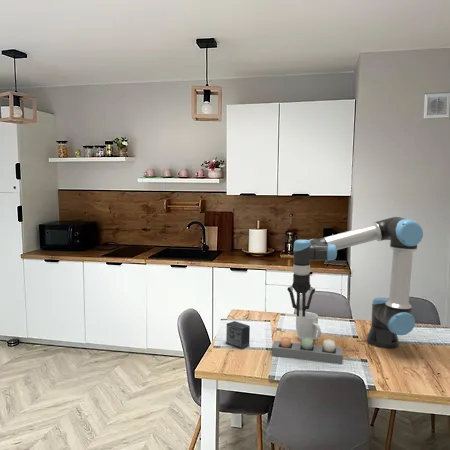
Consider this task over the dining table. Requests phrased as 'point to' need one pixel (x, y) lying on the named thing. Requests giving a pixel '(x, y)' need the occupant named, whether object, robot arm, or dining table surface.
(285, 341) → the key terracotta
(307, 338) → the key sage
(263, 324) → the dining table surface
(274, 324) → the dining table surface
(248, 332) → the small box
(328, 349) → the key ivory
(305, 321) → the mug
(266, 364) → the dining table surface
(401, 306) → the robot arm
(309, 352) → the grey long block
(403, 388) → the dining table surface
